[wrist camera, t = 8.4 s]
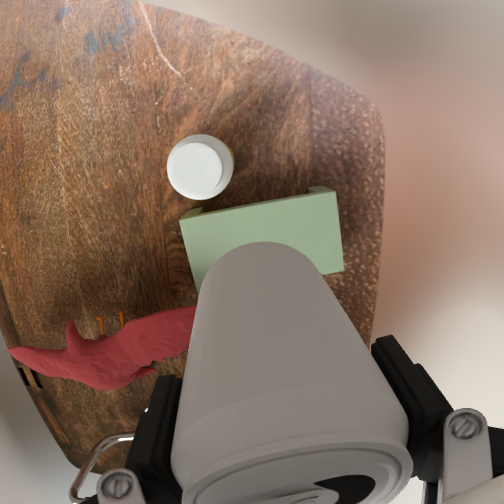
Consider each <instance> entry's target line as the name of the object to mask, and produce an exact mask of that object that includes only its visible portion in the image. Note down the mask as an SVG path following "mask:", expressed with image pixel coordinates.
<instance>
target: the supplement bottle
mask: <svg viewBox="0 0 504 504" xmlns="http://www.w3.org/2000/svg"><path fill="white" fill-rule="evenodd" d="M233 170H234V157H233V154H232V152H231V150H230V148H229V147H228V146H227V145H226V144H225V143H224V142H222V141H221V140H219V139H217V138H215V137H213V136H210V135H205V134H196V135H191V136H188V137H186V138H184V139H182V140H181V141H180V142H178V143H177V144H176V145H175V146H174V148H173V149H172V151H171V153H170V155H169V157H168V161H167V173H168V177H169V180H170V182H171V184H172V186H173V187H174V188H175V189H176V190H177V191H178V192H179V193H180V194H182V195H183V196H185V197H188V198H191V199H196V200H204V199H209V198H212V197H214V196H216V195H218V194H219V193H220V192H222V191H223V190H224V189H225V187H226V186H227V185H228V183H229V182H230V180H231V177H232V173H233Z"/></svg>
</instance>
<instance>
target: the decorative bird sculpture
mask: <svg viewBox="0 0 504 504" xmlns="http://www.w3.org/2000/svg"><path fill="white" fill-rule="evenodd" d="M196 308H197V305H191V306H186V307H181V308H177V309H171V310H164V311H161V312H157V313H154V314H151V315H148V316H145V317H140V318H136V319H132V320H130V321H129V322H127V323H126V324H125V326H124V322H123V315H124V314H122V313H123V312H122V311H121V312H119V311H118V310H117V312H118V313H115V312H113V311H112V312H113V313H115V314H118V315H120V322H121V330H120V331H118V332H117V333H116V334H115V335H113V336H111V337H109V338H108V337H107V336H106V335H104V329H103V322H102V321H103V320H104V318H103V320H102V316H101V317H98V316H97V315H96V316H97V317H98V318H95V319H97V320H100V328H101V335H100V336H99V337H98V339H97V341H96V340H93V339H84V338H82V337H81V336H80V335H79V333H78V331H77V329H76V327H75V323H74V321H73V320H71V321H70V322H69V323H68V324H67V327H66V339H67V348H66V349H63V350H49V349H42V348H35V347H31V346H17V347H10V348H9V349H8V352H9V353H10V354H11V355H12V356H13V357H14V358H15V359H17V360H18V361H20V362H22V363H23V364H25V365H27V366H29V367H30V368H31V369H33V370H35V371H37V372H39V373H41V374H43V375H45V376H48V377H55V378H56V377H57V378H63V379H64V378H70V379H73V380H77V381H81V382H83V383H85V384H86V385H88V386H90V387H92V388H94V389H97V390H109V389H119V388H122V387H124V386H126V385H128V384H129V383H130V382H132V381H134V380H135V379H138V378H141V377H143V376H146V375H148V374H151V373H153V372H155V371H156V369H155V368H151V367H143V366H148V365H150V364H151V363H152V360H154V361H158V362H163V361H164V360H165V357H166V356H170V357H172V356H176V357H179V356H180V355H181V352H182V351H185V350H187V349H189V344H190V339H191V334H192V328H193V323H194V318H195V313H196Z"/></svg>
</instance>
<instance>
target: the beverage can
mask: <svg viewBox="0 0 504 504" xmlns="http://www.w3.org/2000/svg"><path fill="white" fill-rule="evenodd" d="M408 435H409V421H408V417H407V415H406V413H405V411H404V409H403V407H402V406H401V404H400V402H399V400H398V399H397V397H396V395H395V394H394V392H393V390H392V388H391V387H390V385H389V383H388V382H387V380H386V378H385V377H384V375H383V373H382V372H381V370H380V368H379V366H378V365H377V363H376V361H375V360H374V358H373V357H372V355H371V353H370V352H369V350H368V348H367V347H366V345H365V343H364V342H363V340H362V339H361V337H360V335H359V334H358V332H357V330H356V329H355V327H354V326H353V324H352V322H351V321H350V319H349V318H348V316H347V314H346V313H345V311H344V310H343V308H342V306H341V305H340V303H339V302H338V300H337V299H336V297H335V295H334V294H333V292H332V291H331V289H330V288H329V286H328V285H327V283H326V281H325V280H324V278H323V277H322V275H321V274H320V272H319V271H318V269H317V268H316V266H315V265H314V264H313V263H312V261H311V260H310V259H309V258H308V257H307V256H305V255H304V254H303V253H301V252H300V251H298V250H296V249H294V248H292V247H290V246H288V245H285V244H281V243H276V242H267V241H266V242H253V243H249V244H245V245H242V246H239V247H237V248H234V249H232V250H231V251H229V252H227V253H226V254H224V255H223V256H222V257H220V258H219V259H218V260H217V261H216V262H215V263H214V264H213V265H212V266H211V268H210V269H209V271H208V272H207V274H206V276H205V278H204V280H203V282H202V285H201V289H200V293H199V298H198V303H197V308H196V313H195V318H194V323H193V328H192V334H191V339H190V344H189V350H188V355H187V361H186V366H185V372H184V378H183V383H182V389H181V395H180V401H179V407H178V413H177V419H176V426H175V432H174V439H173V445H172V452H171V469H172V472H173V474H174V477H175V479H176V480H177V482H178V484H179V485H180V487H181V488H182V489H183V493H182V504H388V503H389V502H390V501H392V500H393V499H394V498H395V497H396V496H397V495H398V494H399V493H400V492H401V491H402V489H404V487H405V486H406V485H407V483H408V481H409V480H410V478H411V475H412V472H413V460H412V458H411V456H410V454H409V452H408V450H407V448H406V445H407V441H408Z"/></svg>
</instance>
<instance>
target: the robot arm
mask: <svg viewBox="0 0 504 504" xmlns="http://www.w3.org/2000/svg"><path fill="white" fill-rule="evenodd" d="M371 355H372V357H373V358H374V360H375V361H376V363H377V365H378V366H379V368H380V370H381V372H382V373H383V375H384V377H385V378H386V380H387V382H388V383H389V385H390V387H391V388H392V390H393V392H394V394H395V395H396V397H397V399H398V400H399V402H400V404H401V406H402V407H403V409H404V411H405V413H406V415H407V417H408V421H409V435H408V441H407V445H406V448H407V450H408V452H409V454H410V456H411V458H412V460H413V472H412V475H411V478H412V477H415V476H418V478H419V480H422V481H424V484H423V493H422V502H421V504H504V429H500V428H494V427H489V426H487V421H486V419H485V417H484V416H483V414H482V413H480V412H479V411H477V410H474V409H471V408H462V409H458V410H455V411H454V410H453V408H452V407H451V405H450V404H449V403H448V401H447V400H446V398H445V397H444V395H443V394H442V393H441V391H440V390H439V388H438V387H437V386H436V384H435V383H434V381H433V380H432V379H431V377H430V376H429V375H428V373H427V372H426V371H425V369H424V368H423V366H422V365H421V364H418V363H417V364H413V362H412V361H411V360H410V358H409V357H408V355H407V354H406V353H405V351H404V350H403V349H402V347H401V346H400V344H399V343H398V342H397V341H396V339H395V338H394V336H393V335H388V336H384V337H380V338H377V339H376V342H375V343H373V344H372V345H371ZM182 383H183V382H182V380H181V378H176V376H175V375H163V376H158V378H157V381H156V384H155V387H154V390H153V393H152V396H151V399H150V402H149V406H148V409H147V412H143V413H142V414H141V416H140V418H139V421H138V425H137V428H136V431H135V434H134V437H133V440H132V444H131V447H130V450H129V453H128V457H127V460H126V463H125V467H124V468H115V469H111V470H109V471H107V472H105V473H104V474H103V475H102V476H101V477H100V478H99V480H98V482H97V494H96V495H94V496H92V497H90V498H88V499H87V500H85V501H83V502H81V503H79V504H182V493H183V489H182V488H181V487H180V485H179V484H178V482H177V480H176V479H175V477H174V474H173V472H172V469H171V452H172V445H173V439H174V432H175V426H176V419H177V413H178V407H179V401H180V395H181V389H182Z"/></svg>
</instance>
